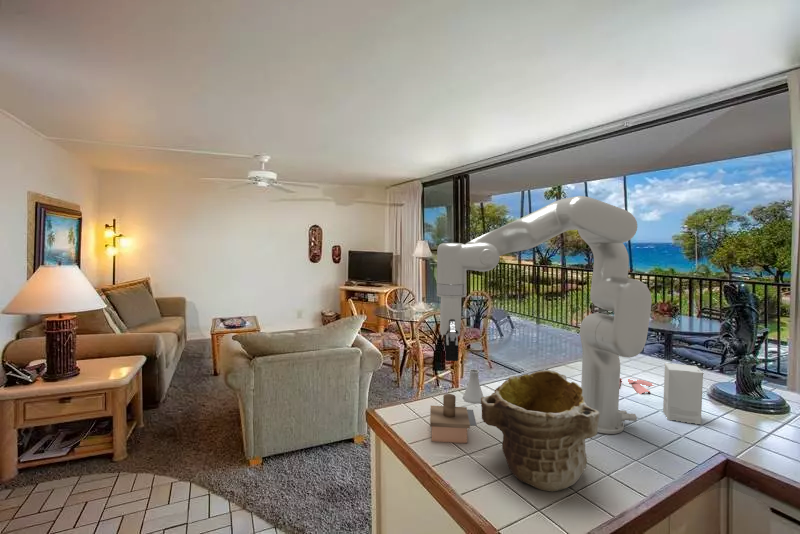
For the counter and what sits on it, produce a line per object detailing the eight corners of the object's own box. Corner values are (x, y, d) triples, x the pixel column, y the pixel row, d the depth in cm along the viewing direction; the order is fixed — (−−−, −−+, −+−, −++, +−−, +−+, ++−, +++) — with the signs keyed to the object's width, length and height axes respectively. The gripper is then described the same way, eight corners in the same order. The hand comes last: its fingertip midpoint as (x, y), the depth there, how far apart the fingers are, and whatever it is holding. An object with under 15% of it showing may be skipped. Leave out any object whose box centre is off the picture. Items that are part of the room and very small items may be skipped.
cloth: (658, 384, 138) (659, 378, 138) (661, 405, 120) (661, 398, 120) (597, 373, 149) (597, 368, 149) (591, 391, 131) (591, 385, 131)
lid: (430, 409, 104) (430, 388, 104) (466, 410, 103) (466, 389, 103) (430, 426, 94) (430, 403, 94) (469, 428, 93) (470, 405, 93)
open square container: (464, 427, 103) (464, 411, 103) (467, 444, 94) (467, 427, 94) (431, 425, 104) (432, 409, 104) (431, 442, 95) (431, 425, 95)
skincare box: (695, 416, 111) (698, 365, 110) (702, 426, 105) (705, 372, 104) (661, 411, 115) (664, 361, 114) (666, 420, 109) (669, 368, 108)
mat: (473, 410, 113) (473, 409, 113) (476, 427, 103) (476, 425, 103) (440, 409, 114) (440, 408, 114) (440, 425, 104) (440, 423, 104)
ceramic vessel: (518, 490, 64) (488, 353, 79) (482, 499, 84) (464, 388, 98) (639, 481, 67) (589, 349, 81) (577, 492, 86) (545, 384, 101)
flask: (485, 406, 117) (485, 375, 116) (461, 404, 118) (462, 373, 118) (484, 396, 124) (485, 367, 123) (462, 395, 125) (463, 366, 125)
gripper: (436, 286, 106) (436, 345, 107) (437, 294, 88) (436, 365, 90) (463, 286, 105) (462, 346, 106) (469, 295, 88) (468, 366, 89)
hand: (450, 354), depth 98 cm, fingers open, 9 cm apart
